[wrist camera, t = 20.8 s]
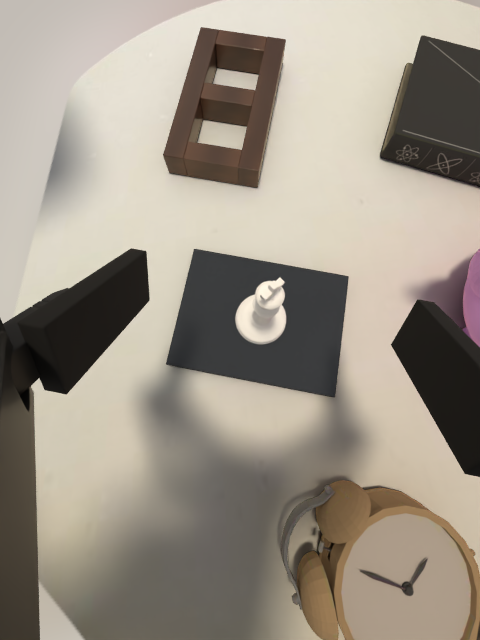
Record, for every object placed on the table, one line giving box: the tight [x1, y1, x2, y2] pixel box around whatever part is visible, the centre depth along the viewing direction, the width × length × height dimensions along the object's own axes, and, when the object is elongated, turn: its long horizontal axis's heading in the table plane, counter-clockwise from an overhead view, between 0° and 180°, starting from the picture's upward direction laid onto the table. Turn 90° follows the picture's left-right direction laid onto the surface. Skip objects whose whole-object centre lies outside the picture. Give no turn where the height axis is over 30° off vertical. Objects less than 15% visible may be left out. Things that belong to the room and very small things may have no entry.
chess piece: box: [235, 278, 286, 344], centre depth 21 cm, size 5×5×10 cm
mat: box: [166, 249, 348, 397], centre depth 26 cm, size 16×12×1 cm
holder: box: [163, 27, 286, 188], centre depth 30 cm, size 10×18×2 cm, turn 169°
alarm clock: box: [281, 480, 480, 640], centre depth 20 cm, size 11×5×15 cm
